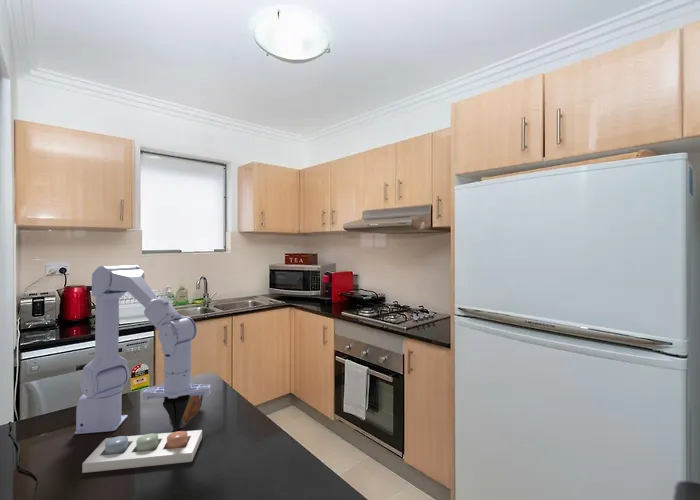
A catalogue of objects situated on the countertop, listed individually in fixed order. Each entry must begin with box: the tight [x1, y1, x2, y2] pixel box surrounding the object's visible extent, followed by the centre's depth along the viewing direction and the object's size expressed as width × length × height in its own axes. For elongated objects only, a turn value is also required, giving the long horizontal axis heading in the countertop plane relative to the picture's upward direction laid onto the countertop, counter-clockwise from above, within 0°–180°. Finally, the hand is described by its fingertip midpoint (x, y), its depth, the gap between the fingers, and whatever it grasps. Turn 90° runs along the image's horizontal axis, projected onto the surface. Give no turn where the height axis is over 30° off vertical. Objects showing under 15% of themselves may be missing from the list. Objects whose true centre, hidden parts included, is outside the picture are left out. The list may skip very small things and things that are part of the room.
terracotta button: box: [167, 430, 188, 449], centre depth 82 cm, size 4×4×2 cm
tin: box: [168, 383, 204, 428], centre depth 97 cm, size 15×3×8 cm, turn 179°
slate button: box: [105, 435, 128, 455], centre depth 80 cm, size 4×4×2 cm
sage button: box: [136, 433, 158, 452], centre depth 81 cm, size 4×4×2 cm
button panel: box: [81, 429, 203, 474], centre depth 81 cm, size 22×10×2 cm, turn 101°
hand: (177, 426), depth 82 cm, fingers closed
